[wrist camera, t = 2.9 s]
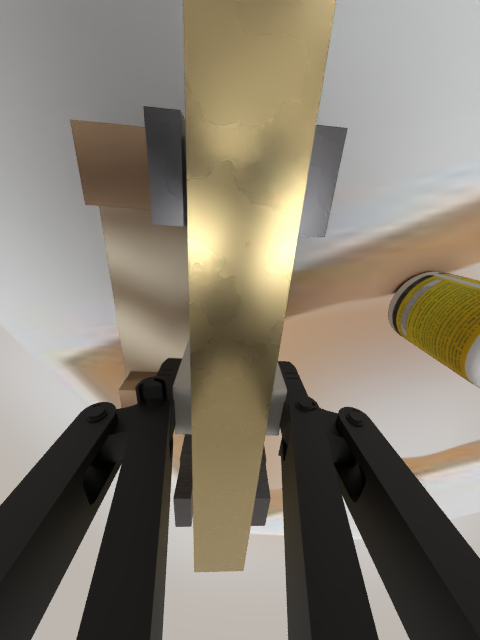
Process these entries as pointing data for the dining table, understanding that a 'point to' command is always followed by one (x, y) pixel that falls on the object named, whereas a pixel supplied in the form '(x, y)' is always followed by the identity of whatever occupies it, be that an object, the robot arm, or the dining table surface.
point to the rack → (171, 210)
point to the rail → (242, 236)
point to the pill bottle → (441, 320)
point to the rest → (135, 250)
